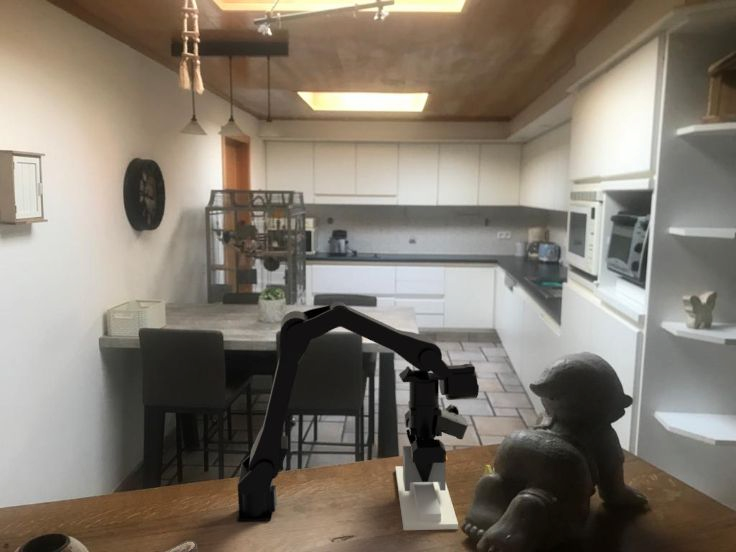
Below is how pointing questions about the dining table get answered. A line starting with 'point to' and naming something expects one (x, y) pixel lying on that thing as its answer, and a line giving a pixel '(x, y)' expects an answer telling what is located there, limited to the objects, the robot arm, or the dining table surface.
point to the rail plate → (412, 510)
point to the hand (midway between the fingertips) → (423, 474)
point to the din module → (413, 475)
